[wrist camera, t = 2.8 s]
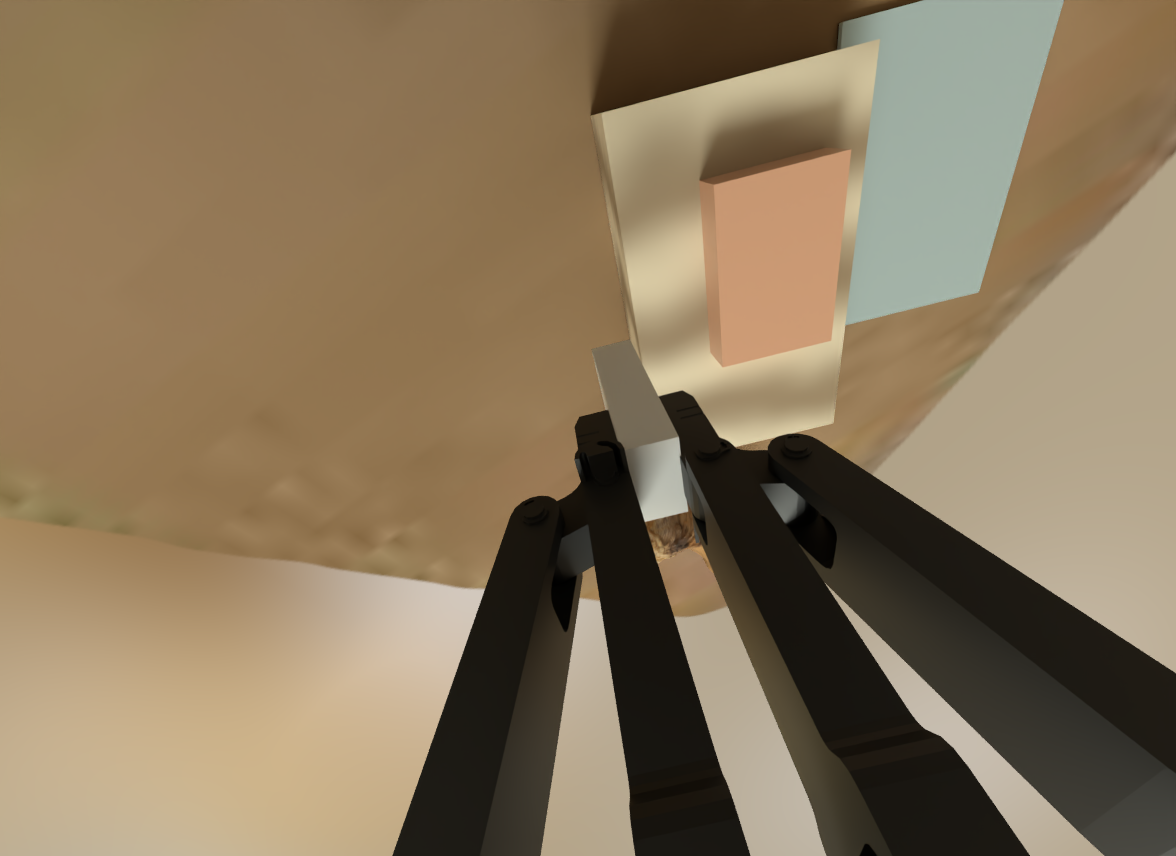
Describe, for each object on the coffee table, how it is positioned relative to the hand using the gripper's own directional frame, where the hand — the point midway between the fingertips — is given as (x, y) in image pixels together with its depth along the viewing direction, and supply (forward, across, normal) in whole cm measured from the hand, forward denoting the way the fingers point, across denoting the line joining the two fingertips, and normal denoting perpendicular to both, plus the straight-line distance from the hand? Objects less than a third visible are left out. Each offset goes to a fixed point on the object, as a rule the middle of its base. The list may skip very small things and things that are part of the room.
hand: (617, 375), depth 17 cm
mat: (+12, +20, +1) cm, 23 cm away
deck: (+12, +8, -2) cm, 14 cm away
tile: (+8, +9, 0) cm, 12 cm away
